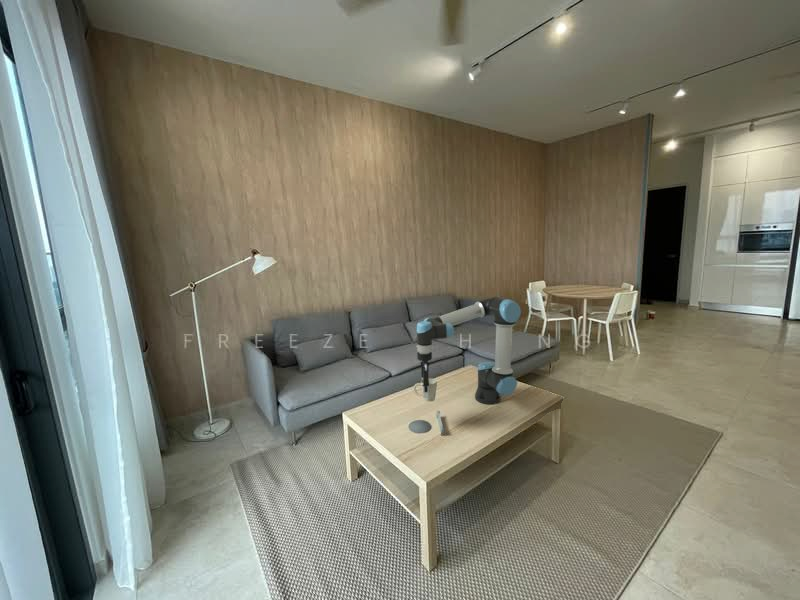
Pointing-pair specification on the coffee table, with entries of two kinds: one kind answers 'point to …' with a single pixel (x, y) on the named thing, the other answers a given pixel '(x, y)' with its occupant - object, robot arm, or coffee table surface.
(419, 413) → the coffee table surface
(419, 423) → the coaster
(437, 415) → the fence
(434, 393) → the mug
